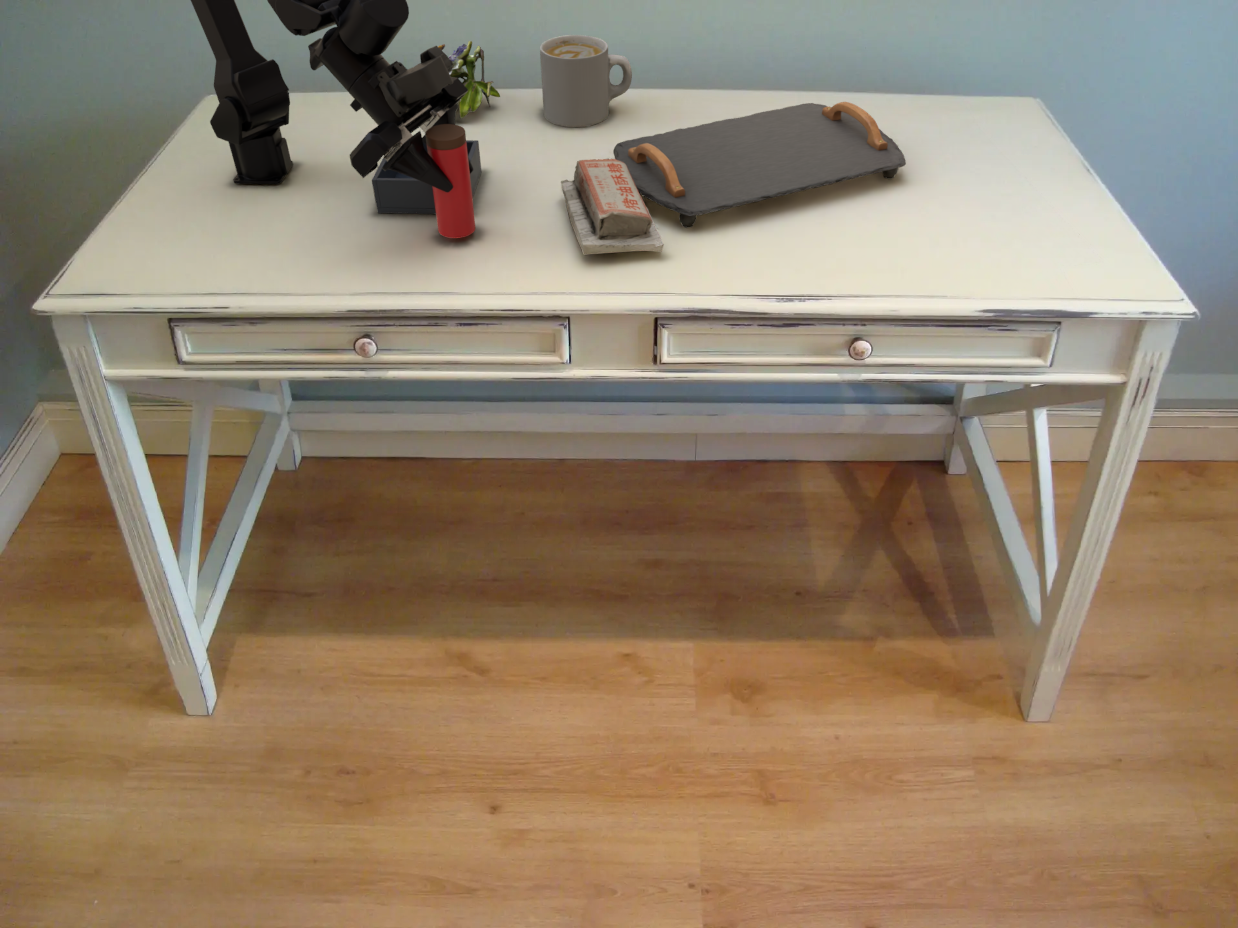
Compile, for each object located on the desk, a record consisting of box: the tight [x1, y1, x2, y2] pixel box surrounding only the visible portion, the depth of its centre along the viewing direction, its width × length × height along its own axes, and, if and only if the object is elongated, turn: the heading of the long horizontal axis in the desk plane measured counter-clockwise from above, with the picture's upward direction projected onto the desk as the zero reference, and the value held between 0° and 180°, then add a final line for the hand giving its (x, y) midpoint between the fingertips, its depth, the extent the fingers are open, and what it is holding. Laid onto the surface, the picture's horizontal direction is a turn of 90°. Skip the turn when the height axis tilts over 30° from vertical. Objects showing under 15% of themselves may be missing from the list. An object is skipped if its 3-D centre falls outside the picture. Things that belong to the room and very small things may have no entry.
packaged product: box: [560, 158, 665, 256], centre depth 126 cm, size 18×5×10 cm
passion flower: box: [438, 40, 501, 119], centre depth 155 cm, size 11×11×12 cm
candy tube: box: [424, 124, 477, 239], centre depth 123 cm, size 5×5×12 cm
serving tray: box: [612, 101, 907, 229], centre depth 138 cm, size 39×23×6 cm, turn 115°
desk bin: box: [371, 139, 482, 215], centre depth 135 cm, size 12×12×5 cm
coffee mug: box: [539, 34, 633, 128], centre depth 152 cm, size 13×10×10 cm
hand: (461, 181), depth 122 cm, fingers closed on candy tube, 4 cm apart
